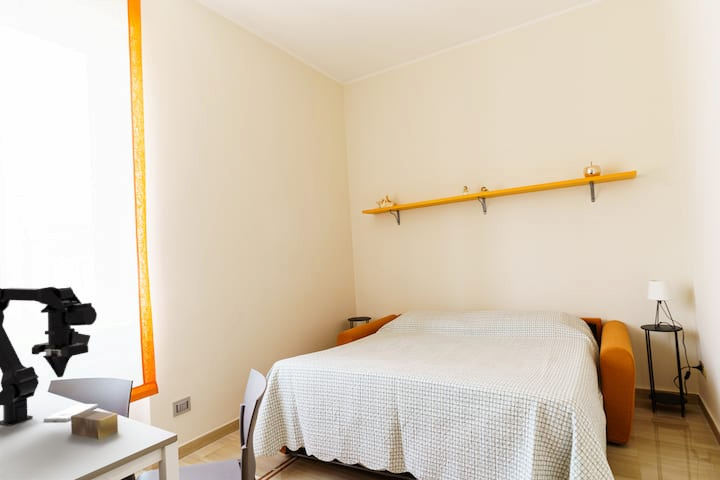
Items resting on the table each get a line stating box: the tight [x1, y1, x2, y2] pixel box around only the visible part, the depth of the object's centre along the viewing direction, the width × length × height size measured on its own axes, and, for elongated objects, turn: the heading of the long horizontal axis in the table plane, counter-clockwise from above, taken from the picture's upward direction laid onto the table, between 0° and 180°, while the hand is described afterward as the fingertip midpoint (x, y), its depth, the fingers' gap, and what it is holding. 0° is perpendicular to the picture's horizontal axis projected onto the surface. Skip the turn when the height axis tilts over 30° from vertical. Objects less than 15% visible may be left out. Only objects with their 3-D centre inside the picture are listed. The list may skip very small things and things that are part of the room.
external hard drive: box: [42, 403, 99, 423], centre depth 133 cm, size 2×8×12 cm
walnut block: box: [70, 409, 119, 440], centre depth 116 cm, size 5×5×12 cm
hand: (60, 377), depth 129 cm, fingers closed
